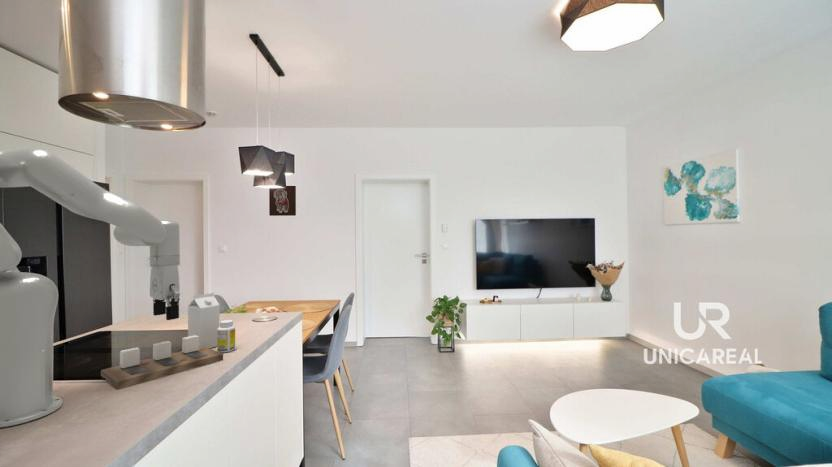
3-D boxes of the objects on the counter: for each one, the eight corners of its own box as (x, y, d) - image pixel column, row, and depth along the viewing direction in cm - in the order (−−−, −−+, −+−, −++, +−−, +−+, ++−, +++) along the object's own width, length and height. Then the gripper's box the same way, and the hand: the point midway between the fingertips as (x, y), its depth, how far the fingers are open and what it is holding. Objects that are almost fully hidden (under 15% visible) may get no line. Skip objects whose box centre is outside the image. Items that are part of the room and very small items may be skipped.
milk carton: (187, 348, 126) (188, 295, 126) (207, 343, 132) (207, 292, 132) (199, 351, 123) (200, 296, 123) (219, 346, 129) (219, 293, 129)
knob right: (185, 353, 113) (185, 339, 113) (182, 351, 115) (182, 337, 115) (198, 350, 117) (198, 336, 117) (195, 348, 118) (195, 335, 118)
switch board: (117, 389, 92) (117, 381, 92) (100, 376, 100) (101, 369, 101) (223, 360, 114) (223, 353, 114) (202, 351, 123) (202, 345, 123)
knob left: (122, 368, 100) (122, 352, 100) (119, 366, 102) (119, 350, 102) (139, 364, 104) (139, 348, 104) (136, 362, 105) (136, 347, 105)
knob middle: (155, 360, 107) (156, 345, 107) (152, 358, 108) (153, 344, 108) (171, 356, 110) (171, 342, 110) (167, 355, 112) (168, 340, 112)
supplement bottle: (233, 346, 128) (233, 318, 128) (236, 351, 124) (236, 321, 124) (216, 349, 125) (216, 320, 125) (218, 354, 120) (218, 323, 120)
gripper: (140, 260, 111) (140, 315, 111) (162, 263, 101) (163, 323, 101) (167, 259, 117) (168, 310, 117) (191, 261, 107) (192, 318, 107)
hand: (166, 316), depth 109 cm, fingers open, 9 cm apart
